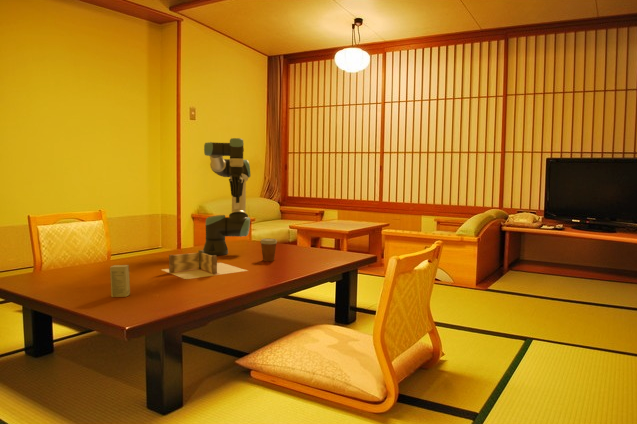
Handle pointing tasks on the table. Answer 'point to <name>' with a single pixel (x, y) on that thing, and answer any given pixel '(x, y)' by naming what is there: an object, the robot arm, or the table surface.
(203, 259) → the fence flap
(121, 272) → the skincare box
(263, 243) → the disposable coffee cup
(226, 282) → the table surface
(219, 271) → the card
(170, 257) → the fence fixed
